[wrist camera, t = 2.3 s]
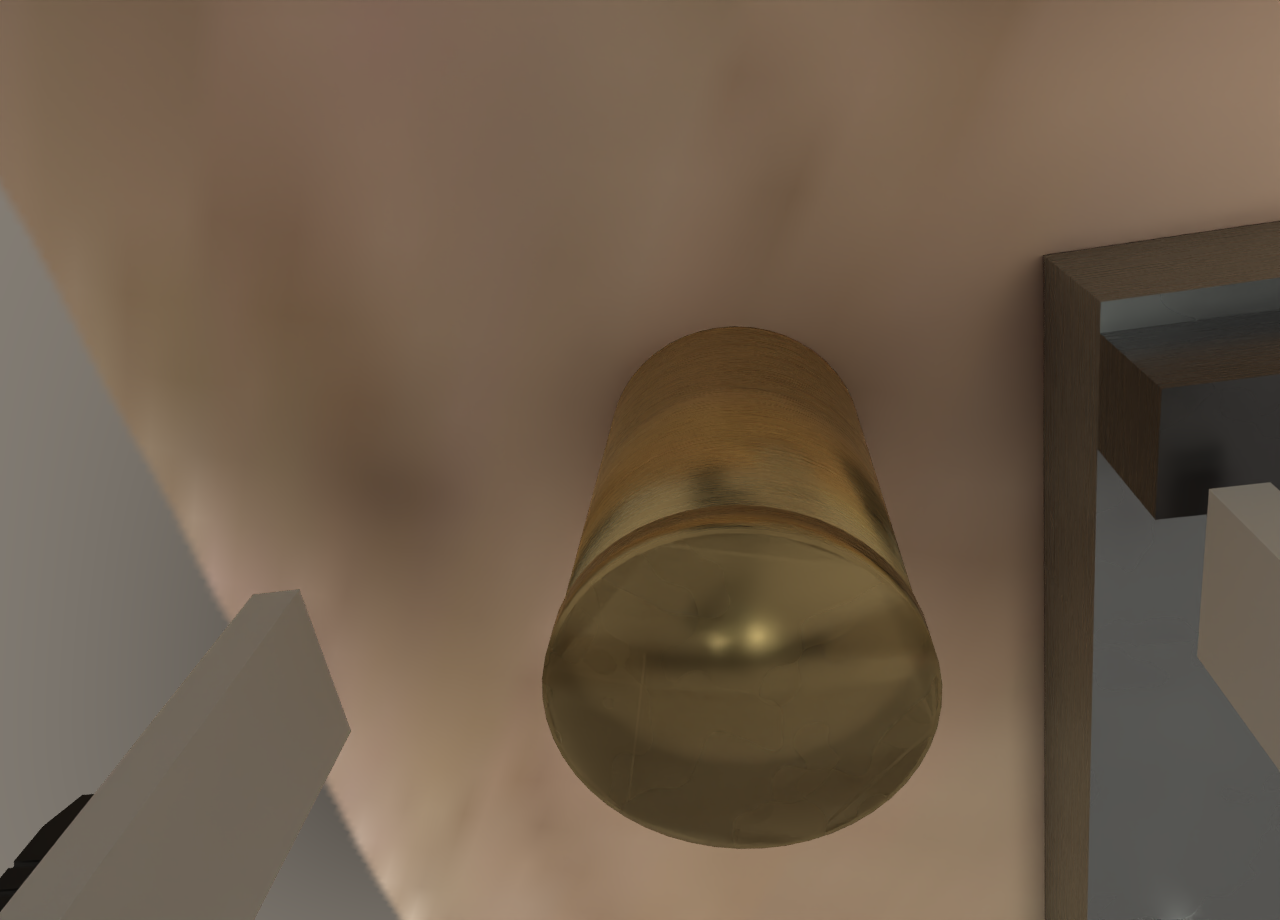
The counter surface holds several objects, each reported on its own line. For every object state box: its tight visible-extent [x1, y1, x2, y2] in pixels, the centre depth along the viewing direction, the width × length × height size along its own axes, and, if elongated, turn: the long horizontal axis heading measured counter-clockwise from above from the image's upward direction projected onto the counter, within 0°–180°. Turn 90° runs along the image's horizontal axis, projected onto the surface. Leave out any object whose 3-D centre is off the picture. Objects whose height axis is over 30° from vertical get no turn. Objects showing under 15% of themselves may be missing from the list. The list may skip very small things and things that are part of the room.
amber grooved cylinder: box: [542, 327, 942, 849], centre depth 16 cm, size 5×5×8 cm
